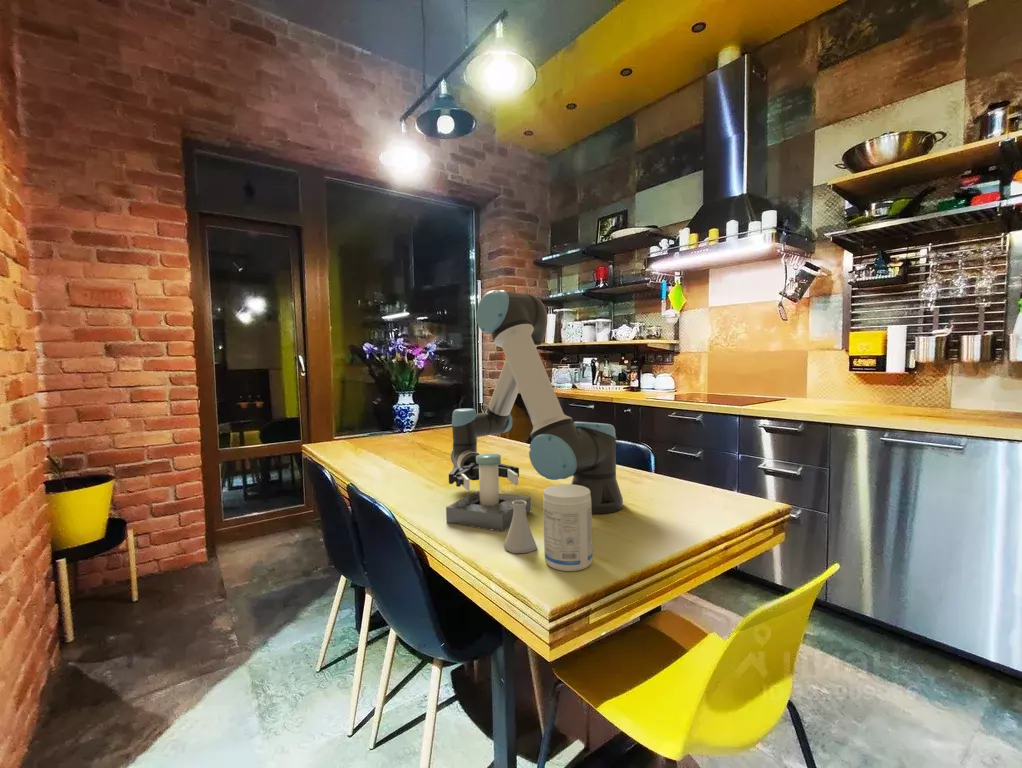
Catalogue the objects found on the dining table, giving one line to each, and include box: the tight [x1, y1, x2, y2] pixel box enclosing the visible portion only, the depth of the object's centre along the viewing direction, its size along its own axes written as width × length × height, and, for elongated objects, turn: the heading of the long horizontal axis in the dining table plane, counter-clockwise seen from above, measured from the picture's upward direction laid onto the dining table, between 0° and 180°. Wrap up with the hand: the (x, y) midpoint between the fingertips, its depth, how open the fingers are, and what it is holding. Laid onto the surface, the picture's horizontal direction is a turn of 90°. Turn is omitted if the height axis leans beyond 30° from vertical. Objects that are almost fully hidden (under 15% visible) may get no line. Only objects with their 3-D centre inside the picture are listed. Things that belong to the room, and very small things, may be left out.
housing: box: [445, 490, 532, 532], centre depth 123 cm, size 16×16×4 cm
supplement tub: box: [542, 483, 593, 572], centre depth 95 cm, size 10×10×15 cm
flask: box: [503, 500, 538, 554], centre depth 103 cm, size 7×7×10 cm
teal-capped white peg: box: [476, 453, 502, 507], centre depth 123 cm, size 6×6×16 cm
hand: (492, 482), depth 120 cm, fingers open, 12 cm apart
